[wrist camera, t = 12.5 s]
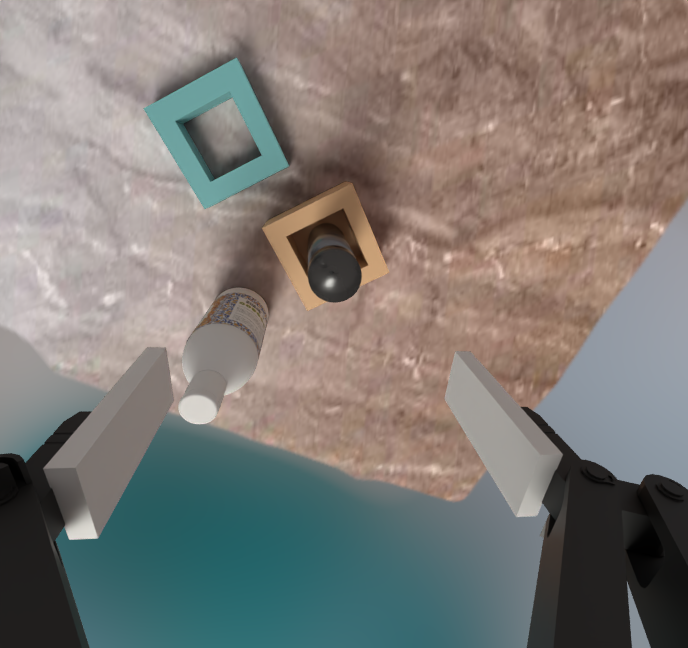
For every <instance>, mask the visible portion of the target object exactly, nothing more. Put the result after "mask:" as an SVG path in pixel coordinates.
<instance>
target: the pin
mask: <svg viewBox="0 0 688 648" xmlns="http://www.w3.org/2000/svg"><path fill="white" fill-rule="evenodd" d="M361 280H362V272H361V268H360V265H359V263H358V262H357V260H356V258H355V256H354V254H353V252H352V250H351V248H350V246H349V244H348V242H347V240H346V238H345V236H344V234H343V232H342V231H341V230H340V228H338V227H337V226H336V225H333V224H330V223H323V224H320V225H318V226H316V227H315V228H314V229H313V230H312V231H311V232H310V234H309V237H308V282H309V285H310V288H311V290H312V291H313V292H314V294H315V295H316V296H317V297H319V298H320V299H322V300H324V301H327V302H341V301H345V300H347V299H349V298H350V297H352V296H353V295H354V294H355V293H356V292H357V290H358V289H359V286H360V284H361Z"/></svg>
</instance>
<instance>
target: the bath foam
mask: <svg viewBox="0 0 688 648" xmlns="http://www.w3.org/2000/svg"><path fill="white" fill-rule="evenodd" d="M268 317H269V313H268V308H267V305H266V303H265V301H264V300H263V299H262V297H261V296H260V295H258V294H257V293H256V292H254V291H252V290H250V289H246V288H231V289H228V290H226V291H224V292H222V293H221V294H220V295H219V296H218V297H217V298H216V300H215V301H214V302H213V304H212V305H211V307H210V308H209V309H208V311H207V312H206V314H205V315H204V317H203V318H202V320H201V321H200V322H199V324H198V325H197V327H196V328H195V330H194V331H193V333H192V334H191V335H190V337H189V338H188V340H187V342H186V345H185V348H184V351H183V356H182V366H183V371H184V374H185V377H186V379H187V380H188V382H189V385H188V387H187V389H186V391H185V394H184V395H183V397H182V398H181V400H180V402H179V406H178V408H179V413H180V415H181V416H182V417H183V418H184V419H185V420H187V421H188V422H191V423H194V424H205V423H208V422H210V421H212V420H213V419H214V418H215V417H216V415H217V413H218V411H219V408H220V405H221V403H222V400H223V397H224V395H227V394H230V393H232V392H235V391H236V390H238V389H240V388H241V387H242V386H243V385H244V384H246V382H247V381H248V380H249V379H250V378H251V376H252V374H253V373H254V371H255V369H256V366H257V362H258V359H259V355H260V351H261V347H262V343H263V339H264V335H265V331H266V327H267V322H268Z"/></svg>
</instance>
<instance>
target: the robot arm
mask: <svg viewBox="0 0 688 648" xmlns="http://www.w3.org/2000/svg"><path fill="white" fill-rule="evenodd" d="M173 401H174V397H173V391H172V384H171V377H170V371H169V364H168V358H167V351H166V348H156V347H147V348H146V349H145V350H144V352H143V353H142V354H141V355H140V356H139V357H138V359H137V360H136V361H135V362H134V363H133V364H132V366H131V367H130V368H129V369H128V370H127V371H126V373H125V374H124V375H123V376H122V377H121V378H120V380H119V381H118V382H117V383H116V384H115V385H114V387H113V388H112V389H111V390H110V391H109V392H108V394H107V395H106V396H105V397H104V398H103V399H102V401H101V402H100V403H99V404H98V405H97V406H96V408H95V409H94V410H93V411H92V412H78V413H77V414H75V415H74V416H72V417H71V418H69V419H67V420H66V421H64V422H63V423H62V424H61V425H60V426H59V427H58V429H57V430H56V431H55V432H54V434H53V435H51V436H50V437H49V438H48V439H47V440H46V442H45V444H44V445H42V446H41V447H40V448H39V449H38V450H37V451H36V452H35V453H34V454H33V455H32V456H31V458H30V459H29V460H28V461H27V462H26V463H25V462H24V460H23V458H22V457H21V456H20V455H16V454H12V453H10V454H0V648H89V645H88V641H87V638H86V635H85V632H84V629H83V625H82V622H81V619H80V616H79V613H78V609H77V606H76V603H75V600H74V597H73V593H72V590H71V587H70V584H69V581H68V578H67V574H66V571H65V568H64V565H63V562H62V558H61V555H60V552H59V549H58V546H57V543H56V541H55V540H56V538H57V537H58V535H59V533H60V532H61V530H62V529H63V527H64V526H65V529H66V532H67V535H68V537H69V539H70V540H72V539H91V538H92V539H93V538H98V537H99V535H100V534H101V532H102V530H103V528H104V526H105V525H106V523H107V521H108V519H109V517H110V515H111V514H112V512H113V510H114V508H115V506H116V505H117V503H118V501H119V499H120V497H121V495H122V494H123V492H124V490H125V488H126V486H127V485H128V483H129V481H130V479H131V477H132V476H133V474H134V472H135V470H136V468H137V466H138V465H139V463H140V461H141V459H142V457H143V456H144V454H145V452H146V450H147V448H148V446H149V445H150V443H151V441H152V439H153V437H154V436H155V434H156V432H157V430H158V428H159V427H160V424H161V423H162V421H163V419H164V417H165V416H166V414H167V412H168V410H169V408H170V407H171V405H172V403H173ZM445 401H446V402H447V404H448V405H449V407H450V409H451V410H452V412H453V414H454V415H455V417H456V419H457V420H458V422H459V424H460V425H461V427H462V429H463V430H464V432H465V433H466V435H467V437H468V438H469V440H470V442H471V443H472V445H473V447H474V448H475V450H476V452H477V453H478V455H479V457H480V458H481V460H482V461H483V463H484V465H485V466H486V468H487V470H488V471H489V473H490V475H491V476H492V478H493V480H494V481H495V483H496V485H497V486H498V487H499V490H500V491H501V493H502V494H503V496H504V498H505V499H506V500H507V503H508V504H509V506H510V508H511V509H512V511H513V513H514V514H515V516H516V517H524V516H537V515H538V512H539V510H540V507H541V505H542V503H543V504H544V506H545V507H546V508H547V510H548V511H549V513H550V514H549V516H548V518H547V521H546V523H545V525H544V527H543V529H542V532H541V534H540V536H541V537H544V540H543V546H542V553H541V559H540V566H539V572H538V579H537V585H536V592H535V599H534V605H533V611H532V617H531V624H530V631H529V638H528V644H527V648H632V644H631V631H630V617H629V604H628V591H627V582H628V585H629V588H630V590H631V593H632V596H633V599H634V601H635V604H636V607H637V610H638V613H639V616H640V618H641V621H642V624H643V627H644V629H645V633H646V635H647V638H648V641H649V644H650V646H651V648H688V490H687V489H686V488H685V487H683V486H682V485H681V484H679V483H677V482H675V481H674V480H671V479H669V478H666V477H663V476H660V475H654V474H651V475H646V476H645V477H644V479H643V481H642V482H641V484H640V485H638V484H634V483H629V482H625V481H620V480H617V479H616V477H615V476H614V475H613V474H612V473H611V472H610V471H608V470H607V469H605V468H604V467H602V466H600V465H598V464H596V463H594V462H591V461H588V460H581V459H580V458H579V456H578V455H576V453H574V451H573V450H572V449H571V448H570V447H569V446H568V445H567V444H566V443H565V442H564V441H563V440H562V439H561V438H560V437H559V436H558V434H555V431H554V430H553V429H552V428H551V427H550V426H548V424H547V423H546V422H545V421H544V420H543V419H542V417H541V416H540V415H538V414H537V413H535V412H534V411H532V410H531V409H529V408H528V407H520V406H519V405H518V404H517V403H516V402H515V400H514V399H513V398H512V397H511V396H510V395H509V394H508V393H507V392H506V390H505V389H504V388H503V387H502V386H501V385H500V384H499V383H498V382H497V380H496V379H495V378H494V377H493V376H492V375H491V374H490V373H489V372H488V370H487V369H486V368H485V367H484V366H483V365H482V364H481V363H480V362H479V361H478V359H477V358H476V357H475V356H474V355H473V354H472V353H471V352H468V351H455V355H454V359H453V364H452V368H451V372H450V377H449V381H448V386H447V390H446V394H445Z"/></svg>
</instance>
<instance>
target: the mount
mask: <svg viewBox="0 0 688 648" xmlns="http://www.w3.org/2000/svg"><path fill="white" fill-rule="evenodd" d="M232 97H233V99H234V101H235V103H236V105H237V107H238V109H239V111H240V113H241V115H242V117H243V119H244V121H245V123H246V125H247V127H248V129H249V131H250V133H251V135H252V137H253V139H254V141H255V143H256V145H257V147H258V149H259V151H260V153H261V155H262V156H260V157H258V158H256V159H254V160H252V161H250V162H248V163H246V164H244V165H242V166H240V167H238V168H236V169H235V170H233V171H231V172H229V173H227V174H225V175H223V176H221V177H219V178H217V179H214V177H213V175H212V173H211V172H210V170H209V168H208V166H207V165H206V163H205V161H204V159H203V158H202V156H201V154H200V152H199V151H198V149H197V147H196V146H195V144H194V142H193V140H192V139H191V137H190V135H189V133H188V132H187V130H186V128H185V126H184V125H183V124H184V123H186V122H188V121H190V120H191V119H193V118H195V117H197V116H199V115H201V114H203V113H204V112H206V111H208V110H210V109H212V108H214V107H216V106H217V105H219V104H221V103H223V102H225V101H227V100H228V99H230V98H232ZM144 110H145V112H146V113H147V115H148V117H149V118H150V120H151V122H152V123H153V125H154V127H155V128H156V130H157V131H158V133H159V135H160V136H161V138H162V140H163V141H164V143H165V145H166V146H167V148H168V150H169V151H170V153H171V154H172V156H173V158H174V159H175V161H176V163H177V164H178V166H179V168H180V169H181V171H182V173H183V174H184V176H185V177H186V179H187V181H188V182H189V184H190V186H191V187H192V189H193V191H194V192H195V194H196V196H197V197H198V199H199V200H200V202H201V204H202V205H203V207H204V209H206V208H209V207H211V206H213V205H215V204H217V203H219V202H221V201H223V200H225V199H227V198H229V197H230V196H232V195H234V194H236V193H238V192H240V191H242V190H244V189H246V188H248V187H250V186H252V185H254V184H256V183H258V182H260V181H262V180H264V179H266V178H268V177H270V176H271V175H273V174H275V173H277V172H279V171H281V170H283V169H285V168H287V167H289V164H288V161H287V159H286V157H285V155H284V153H283V151H282V149H281V147H280V145H279V143H278V141H277V138H276V136H275V134H274V132H273V130H272V128H271V126H270V124H269V122H268V120H267V118H266V115H265V113H264V111H263V109H262V107H261V105H260V103H259V101H258V99H257V97H256V95H255V92H254V90H253V88H252V86H251V84H250V82H249V80H248V78H247V76H246V74H245V72H244V69H243V67H242V65H241V64H240V62H239V60H238V59H237V58H235V59H233V60H231V61H229V62H227V63H226V64H224V65H222V66H220V67H218V68H217V69H215V70H213V71H211V72H209V73H207V74H206V75H204V76H202V77H200V78H198V79H197V80H195V81H193V82H191V83H189V84H187V85H186V86H184V87H182V88H180V89H178V90H177V91H175V92H173V93H171V94H169V95H167V96H166V97H164V98H162V99H160V100H158V101H157V102H155V103H153V104H151V105H149V106H147V107H146V108H144Z"/></svg>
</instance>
